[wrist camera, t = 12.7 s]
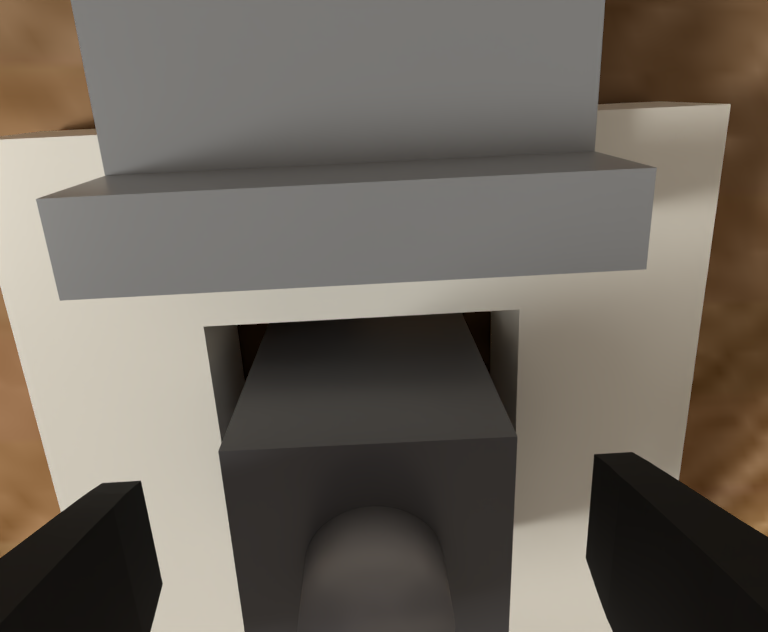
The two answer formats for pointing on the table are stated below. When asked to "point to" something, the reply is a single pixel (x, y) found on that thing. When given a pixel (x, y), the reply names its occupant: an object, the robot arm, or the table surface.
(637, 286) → the socket plate
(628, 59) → the table surface
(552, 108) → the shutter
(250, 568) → the plug
